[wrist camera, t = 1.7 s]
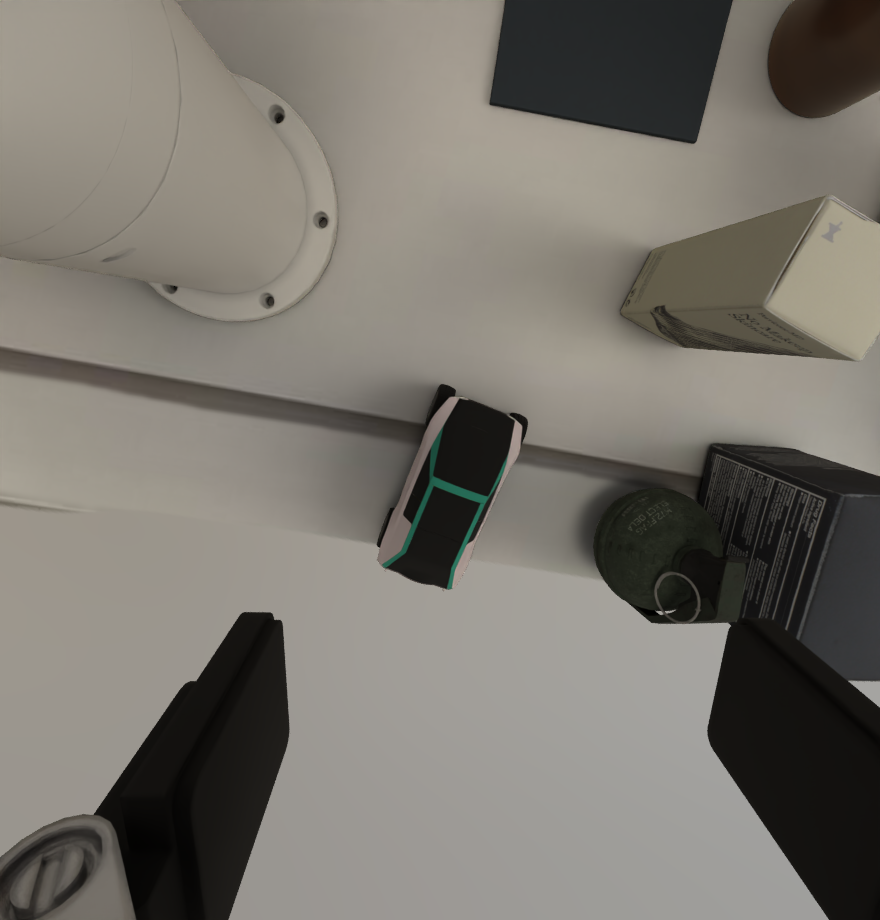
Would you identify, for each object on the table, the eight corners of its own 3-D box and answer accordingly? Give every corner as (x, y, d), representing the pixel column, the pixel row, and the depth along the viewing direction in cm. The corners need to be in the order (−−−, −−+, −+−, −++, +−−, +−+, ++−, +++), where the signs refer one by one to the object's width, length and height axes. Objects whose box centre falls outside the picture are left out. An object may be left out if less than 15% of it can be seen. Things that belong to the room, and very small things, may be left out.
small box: (762, 585, 35) (898, 688, 25) (677, 581, 35) (780, 685, 25) (801, 447, 32) (971, 501, 22) (708, 441, 32) (839, 494, 22)
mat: (489, 104, 27) (490, 102, 26) (520, -99, 24) (521, -104, 24) (693, 143, 27) (696, 141, 27) (743, -49, 25) (746, -54, 25)
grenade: (585, 476, 33) (676, 499, 23) (687, 488, 34) (815, 515, 24) (568, 592, 33) (650, 663, 24) (669, 600, 35) (788, 671, 25)
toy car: (376, 540, 33) (367, 578, 28) (440, 380, 31) (443, 390, 25) (453, 567, 34) (459, 609, 29) (523, 413, 31) (543, 430, 26)
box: (616, 314, 30) (753, 306, 17) (652, 245, 29) (826, 185, 16) (685, 351, 31) (864, 367, 18) (724, 285, 30) (941, 256, 17)
